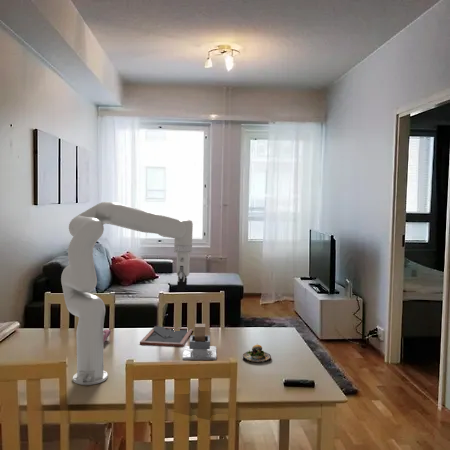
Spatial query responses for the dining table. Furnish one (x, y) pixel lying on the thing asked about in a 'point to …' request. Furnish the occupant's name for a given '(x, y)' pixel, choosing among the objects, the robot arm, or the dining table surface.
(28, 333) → the dining table surface
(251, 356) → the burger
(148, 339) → the picture frame
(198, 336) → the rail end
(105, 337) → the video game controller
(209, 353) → the cup bracket
